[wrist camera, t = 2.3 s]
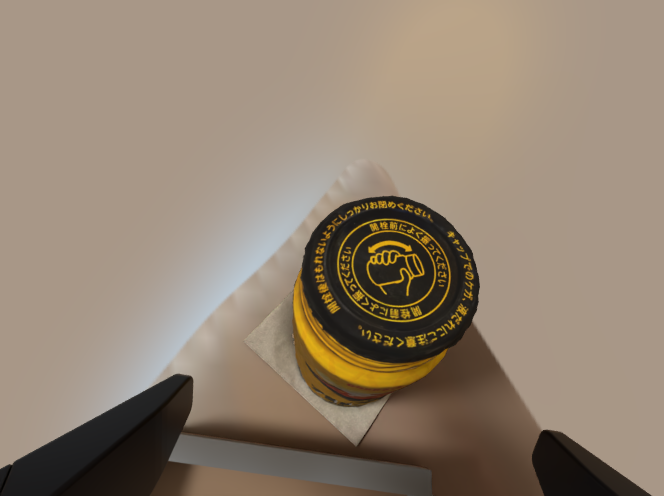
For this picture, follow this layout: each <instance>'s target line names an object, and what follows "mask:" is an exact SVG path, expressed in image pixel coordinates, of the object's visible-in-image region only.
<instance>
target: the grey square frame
mask: <svg viewBox="0 0 664 496" xmlns="http://www.w3.org/2000/svg"><path fill="white" fill-rule="evenodd" d="M150 496H434V495H432V473H431V470H428V468H426V467H422V466H416V465H409V464H402V463H395V462H388V461H381V460H374V459H367V458H360V457H353V456H346V455H339V454H332V453H325V452H318V451H311V450H304V449H297V448H290V447H283V446H276V445H269V444H262V443H255V442H248V441H241V440H234V439H227V438H220V437H213V436H206V435H199V434H192V433H185V432H181V434H180V436H179V438H178V440H177V442H176V445H175V447H174V449H173V451H172V454H171V456H170V458H169V460H168V462H167V465H166V467H165V469H164V471H163V473H162V475H161V477H160V479H159V481H158V482H157V484H156V486H155V488H154V490H153V491H152V493H151V495H150Z"/></svg>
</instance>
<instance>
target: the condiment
mask: <svg viewBox="0 0 664 496" xmlns="http://www.w3.org/2000/svg"><path fill="white" fill-rule="evenodd" d="M479 288H480V284H479V276H478V273H477V268H476V264H475V261H474V259H473V253H472V250H471V249H470V247H469V246H468V245H467V244H466V242H465V240H464V239H463V238H462V236H461V235H460V234H459V233H458V232H457V231H456V229H455V228H454V227H453V225H452V224H450V223H449V222H448V221H447V220H446V219H445V218H444V217H443V216H441V215H440V214H438V213H437V212H435V211H433V210H431V209H430V208H428V207H427V206H425V205H424V204H421V203H418V202H415V201H413V200H410V199H408V198H402V197H396V196H383V197H374V198H366V199H362V200H358V201H354V202H350V203H346V204H344V205H342V206H340V207H339V208H337V209H336V210H334V211H333V212H331V213H330V214H329V215H328V216H327V217H326V218H325V219H324V220H323V221H322V222H320V224H319V225H318V226H317V228H316V229H315V230H314V232H313V233H312V235H311V238H310V240H309V242H308V244H307V245H306V247H305V255H304V256H303V263H302V268H301V270H300V272H299V274H298V277H297V280H296V282H295V285H294V290H293V291H292V292H291V293H290V294H289V295H288V296H287V297H286V298H285V299H284V300H283V301H282V302H281V303H280V305H279V306H277V307H276V308H275V309H274V310H273V311H272V312H271V313H270V314H269V315H268V316H267V317H266V318H265V320H264V321H263V322H262V323H261V324H260V325H259V326H258V327H257V328H256V329H255V330H254V331H253V332H252V333H251V334H250V335H249V336H248V337H247V338H246V339H245V340H244V342H245V343H246V344H247V345H248V346H249V347H250V348H251V349H252V350H253V351H254V352H255V353H256V354H257V355H259V356H260V357H261V358H262V359H263V360H264V361H265V362H266V363H267V364H268V365H269V366H270V367H272V368H273V369H274V370H275V371H276V372H277V373H278V374H279V375H280V376H281V377H282V378H283V379H284V380H285V381H286V382H288V383H289V384H290V385H291V386H292V387H293V388H294V389H295V390H296V391H297V392H298V393H299V394H300V395H301V396H302V397H303V398H305V399H306V400H307V401H308V402H309V403H310V404H311V405H312V406H313V407H314V408H315V409H316V410H317V411H319V412H320V413H321V414H322V415H323V416H324V417H325V418H326V419H327V420H328V421H329V422H330V423H331V424H332V425H334V426H335V427H336V428H337V429H338V430H339V431H340V432H341V433H342V434H343V435H344V436H345V437H346V438H348V439H349V440H350V441H351V442H352V443H353V444H354V445H355V446H356V447H357V445H358V444H359V442H360V441H361V439H362V438H363V436H364V434H365V433H366V431H367V430H368V428H369V427H370V425H371V424H372V422H373V421H374V419H375V418H376V416H377V414H378V413H379V411H380V410H381V408H382V407H383V405H384V404H385V402H386V401H387V399H388V398H389V396H390V395H391V393H392V392H394V391H396V390H399V389H402V388H404V387H406V386H408V385H410V384H412V383H414V382H417V381H418V380H420V379H421V378H423V377H425V376H426V375H427V374H428V373H429V372H431V371H432V369H433V368H434V367H435V366H436V365H437V364H438V363H439V362H440V361H441V360H442V358H443V357H444V356H445V354H446V352H447V350H448V348H450V347H452V346H454V345H455V344H456V343H457V342H458V341H459V340H460V339H461V338H462V337H463V335H464V333H465V331H466V329H467V328H468V327H469V326H470V325H471V322H472V319H473V316H474V314H475V313H476V311H477V306H478V302H479V301H478V294H479ZM292 334H294V338H292ZM293 341H295V345H294V344H293V343H294V342H293Z"/></svg>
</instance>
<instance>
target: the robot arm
mask: <svg viewBox="0 0 664 496" xmlns="http://www.w3.org/2000/svg"><path fill="white" fill-rule="evenodd" d="M192 402H193V378H192V377H191V376H189V375H182V374H175V375H173V376H171V377H169V378H167V379H166V380H164V381H162V382H160V383H158V384H156V385H154V386H153V387H151V388H149V389H147V390H145V391H143V392H142V393H140V394H138V395H136V396H134V397H132V398H131V399H129V400H127V401H125V402H123V403H122V404H119V405H118V406H116V407H114V408H112V409H110V410H108V411H107V412H105V413H103V414H101V415H99V416H97V417H95V418H94V419H92V420H90V421H88V422H86V423H84V424H83V425H81V426H79V427H77V428H75V429H74V430H72V431H70V432H68V433H66V434H64V435H62V436H61V437H59V438H57V439H55V440H53V441H51V442H49V443H48V444H46V445H44V446H42V447H40V448H39V449H36V450H35V451H33V452H31V453H29V454H27V455H25V456H24V457H22V458H20V459H18V460H16V461H15V462H14V463H13V465H10V464H9V465H7V466H5V467H3V468H1V469H0V496H150V495H151V493H152V491H153V490H154V488H155V486H156V484H157V482H158V481H159V479H160V477H161V475H162V473H163V471H164V469H165V467H166V465H167V462H168V460H169V458H170V456H171V454H172V451H173V449H174V447H175V445H176V442H177V440H178V438H179V436H180V434H181V431H182V429H183V427H184V425H185V423H186V420H187V418H188V416H189V414H190V411H191V408H192ZM532 463H533V467H534V469H535V472H536V475H537V477H538V480H539V483H540V485H541V488H542V491H543V493H544V496H651V495H650V494H649V493H647V492H646V491H644V490H643V489H641V488H640V487H639V486H637V485H636V484H634V483H633V482H631V481H630V480H629V479H627V478H626V477H624V476H623V475H621V474H620V473H619V472H617V471H616V470H614V469H613V468H612V467H610V466H609V465H607V464H606V463H604V462H603V461H601V460H600V459H599V458H597V457H596V456H595V455H593V454H592V453H590V452H589V451H587V450H586V449H585V448H583V447H582V446H580V445H579V444H577V443H576V442H575V441H573V440H572V439H570V438H569V437H567V436H566V435H565V434H563V433H561V432H558V431H552V430H543V431H542V432H541V433H540V435H539V438H538V441H537V443H536V446H535V448H534V451H533V454H532Z"/></svg>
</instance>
